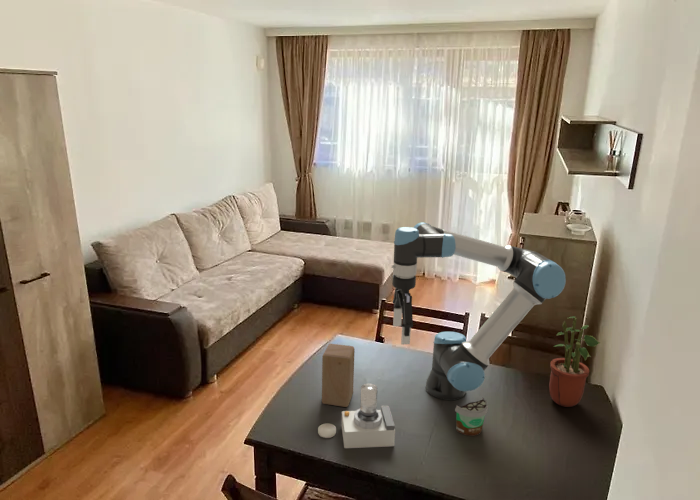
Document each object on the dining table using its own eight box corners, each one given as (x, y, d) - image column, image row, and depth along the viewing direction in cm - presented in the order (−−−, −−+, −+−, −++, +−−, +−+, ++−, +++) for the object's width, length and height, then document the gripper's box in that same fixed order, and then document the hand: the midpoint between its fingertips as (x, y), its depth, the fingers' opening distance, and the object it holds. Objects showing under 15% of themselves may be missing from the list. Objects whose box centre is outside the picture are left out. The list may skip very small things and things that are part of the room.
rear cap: (335, 426, 168) (335, 423, 168) (336, 438, 163) (336, 434, 162) (317, 427, 168) (317, 423, 167) (318, 439, 162) (318, 435, 162)
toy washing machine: (388, 424, 170) (389, 404, 168) (394, 446, 159) (395, 424, 157) (341, 426, 168) (342, 406, 166) (344, 448, 158) (344, 426, 155)
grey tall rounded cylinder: (363, 413, 165) (364, 382, 162) (378, 418, 163) (379, 386, 160) (357, 422, 161) (358, 390, 157) (372, 427, 159) (373, 394, 155)
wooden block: (348, 408, 178) (349, 358, 173) (321, 404, 180) (321, 354, 174) (353, 393, 188) (355, 345, 182) (327, 389, 189) (328, 342, 184)
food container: (464, 442, 162) (467, 415, 159) (452, 431, 167) (455, 405, 164) (493, 432, 168) (496, 406, 165) (481, 421, 173) (484, 396, 170)
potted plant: (572, 417, 177) (588, 327, 167) (532, 397, 188) (545, 312, 178) (594, 399, 188) (610, 314, 178) (554, 382, 199) (568, 300, 189)
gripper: (386, 263, 173) (383, 319, 179) (400, 288, 149) (397, 352, 155) (407, 262, 174) (404, 318, 180) (425, 288, 150) (421, 351, 156)
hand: (401, 334), depth 168 cm, fingers open, 13 cm apart
